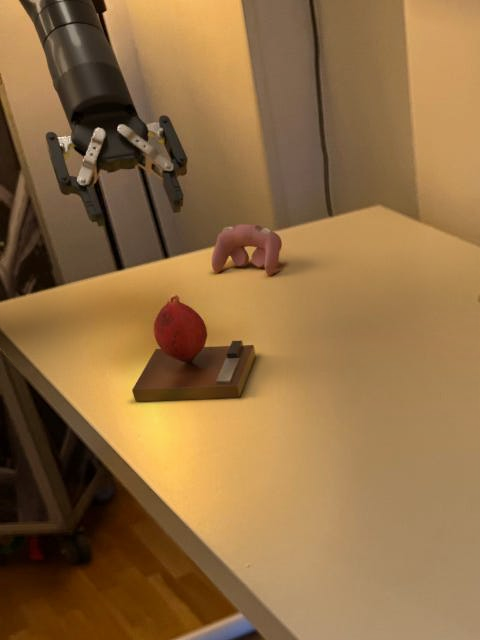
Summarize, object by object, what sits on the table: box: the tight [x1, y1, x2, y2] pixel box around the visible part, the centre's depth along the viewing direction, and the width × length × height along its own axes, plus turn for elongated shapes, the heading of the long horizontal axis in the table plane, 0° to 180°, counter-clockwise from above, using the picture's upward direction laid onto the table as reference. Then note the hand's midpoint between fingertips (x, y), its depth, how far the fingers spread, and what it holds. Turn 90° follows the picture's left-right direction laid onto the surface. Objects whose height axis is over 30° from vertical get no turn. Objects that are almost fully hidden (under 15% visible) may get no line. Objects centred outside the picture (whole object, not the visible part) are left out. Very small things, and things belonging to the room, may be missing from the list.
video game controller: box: [211, 223, 283, 276], centre depth 142 cm, size 10×5×7 cm, turn 76°
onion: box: [153, 294, 208, 363], centre depth 113 cm, size 6×6×8 cm
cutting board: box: [131, 340, 257, 403], centre depth 115 cm, size 12×11×2 cm
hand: (140, 215), depth 110 cm, fingers open, 8 cm apart
